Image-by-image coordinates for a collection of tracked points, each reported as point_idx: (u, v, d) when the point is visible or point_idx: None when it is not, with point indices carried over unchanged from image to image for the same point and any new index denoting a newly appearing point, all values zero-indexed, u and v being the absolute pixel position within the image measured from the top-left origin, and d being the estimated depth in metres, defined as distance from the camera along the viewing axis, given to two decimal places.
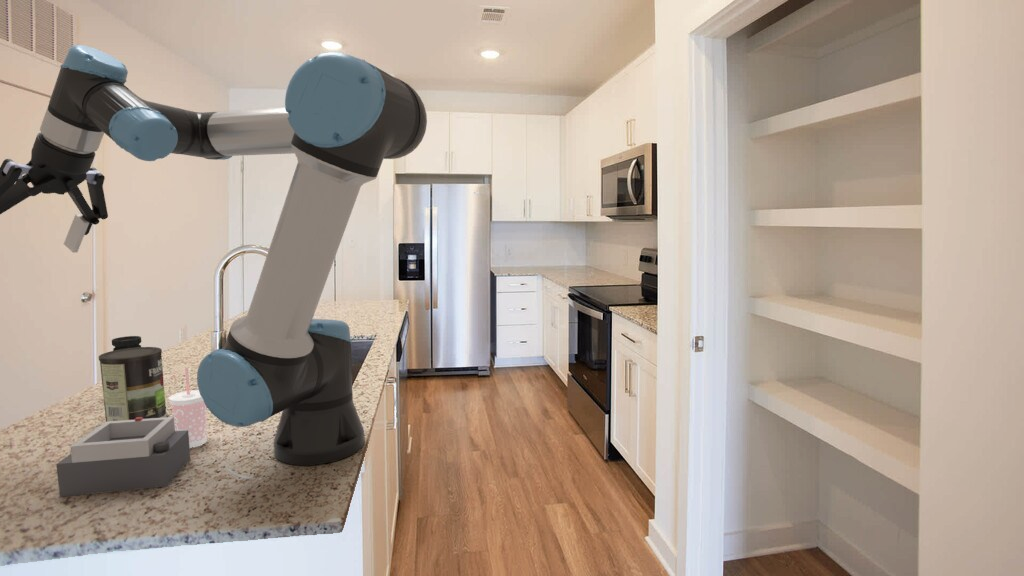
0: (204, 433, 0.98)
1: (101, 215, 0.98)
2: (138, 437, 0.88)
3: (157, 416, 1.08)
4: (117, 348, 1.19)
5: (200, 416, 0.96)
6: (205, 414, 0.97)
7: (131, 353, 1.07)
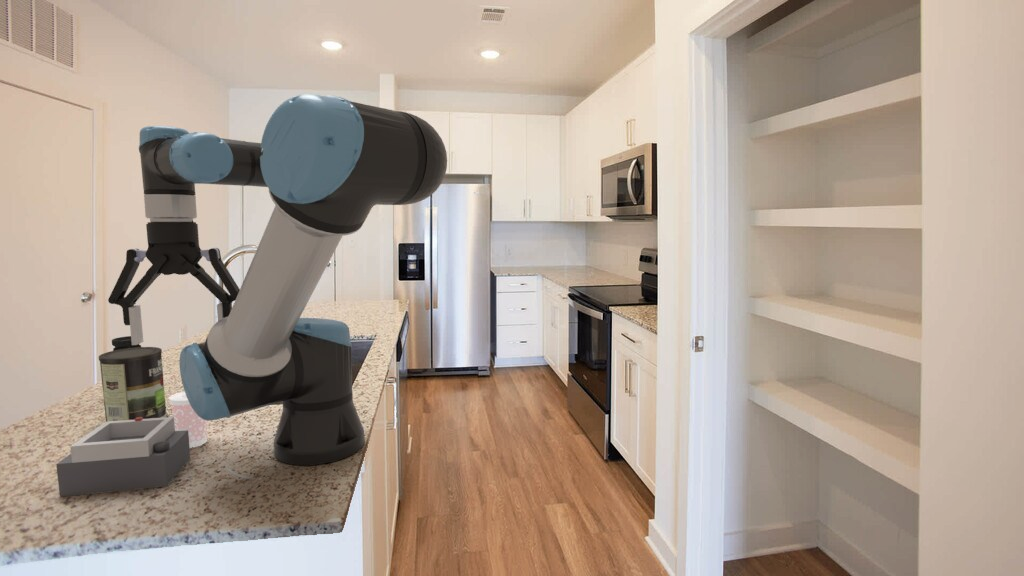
0: (204, 433, 0.98)
1: (231, 295, 0.95)
2: (138, 437, 0.88)
3: (157, 416, 1.08)
4: (117, 348, 1.19)
5: None
6: None
7: (131, 353, 1.07)
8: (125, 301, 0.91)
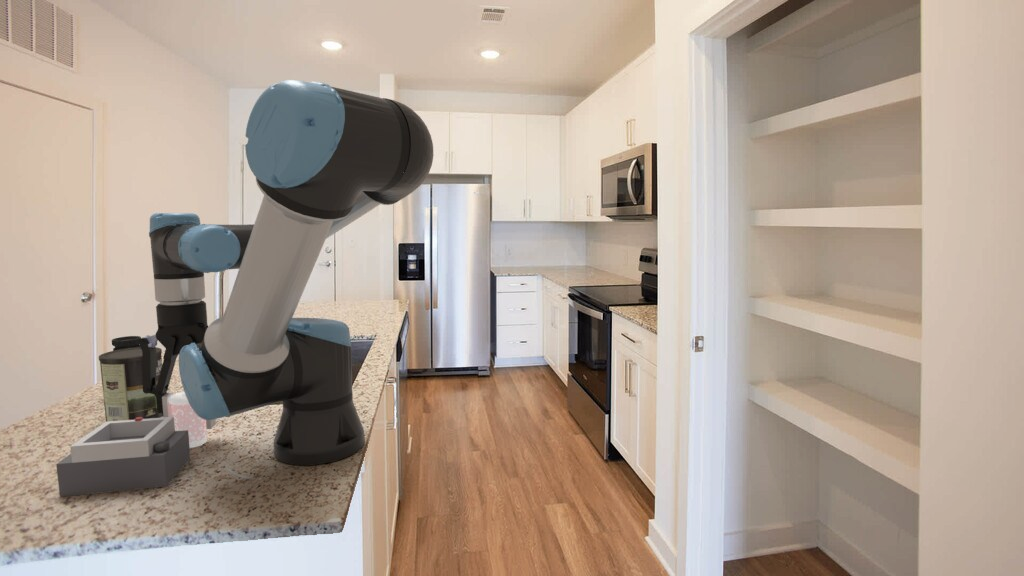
0: (204, 433, 0.98)
1: None
2: (138, 437, 0.88)
3: (157, 416, 1.08)
4: (117, 348, 1.19)
5: None
6: None
7: (131, 353, 1.07)
8: (158, 390, 0.94)
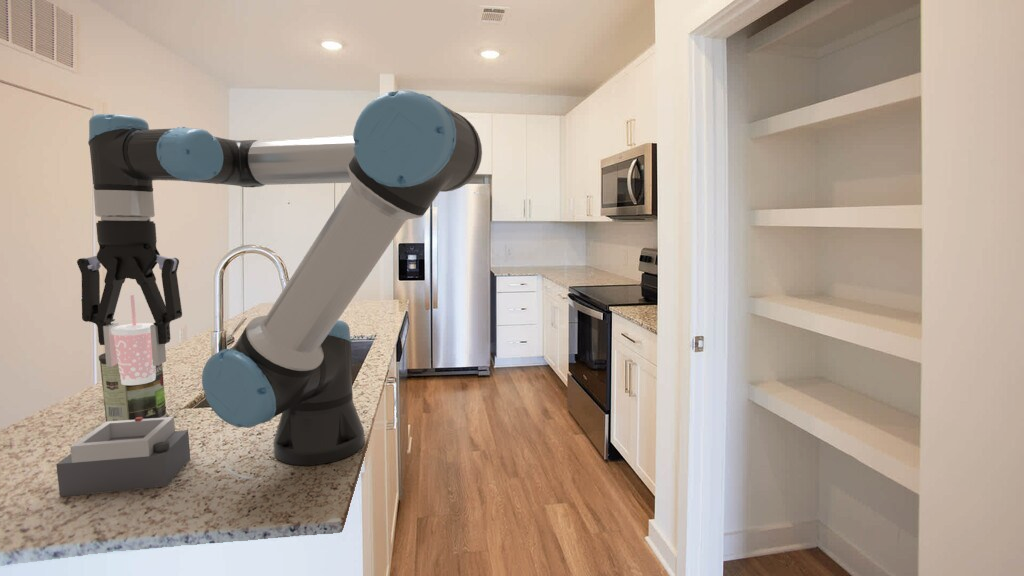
0: (152, 370, 0.87)
1: (167, 314, 0.85)
2: (138, 437, 0.88)
3: (157, 416, 1.08)
4: None
5: (145, 350, 0.85)
6: None
7: None
8: (98, 319, 0.84)
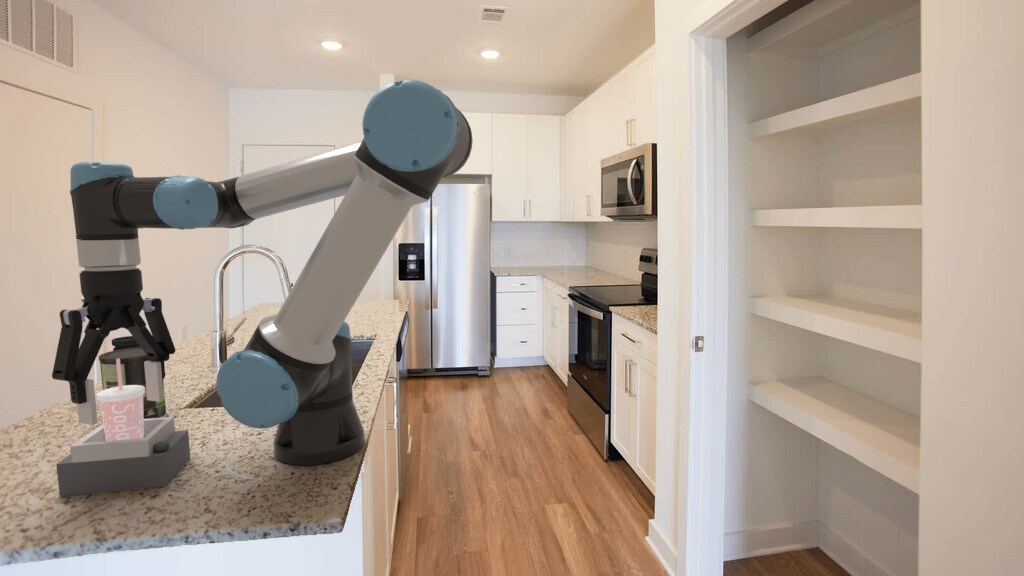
0: None
1: (168, 349, 0.89)
2: None
3: (157, 416, 1.08)
4: (117, 348, 1.19)
5: None
6: None
7: (131, 353, 1.07)
8: (82, 374, 0.77)
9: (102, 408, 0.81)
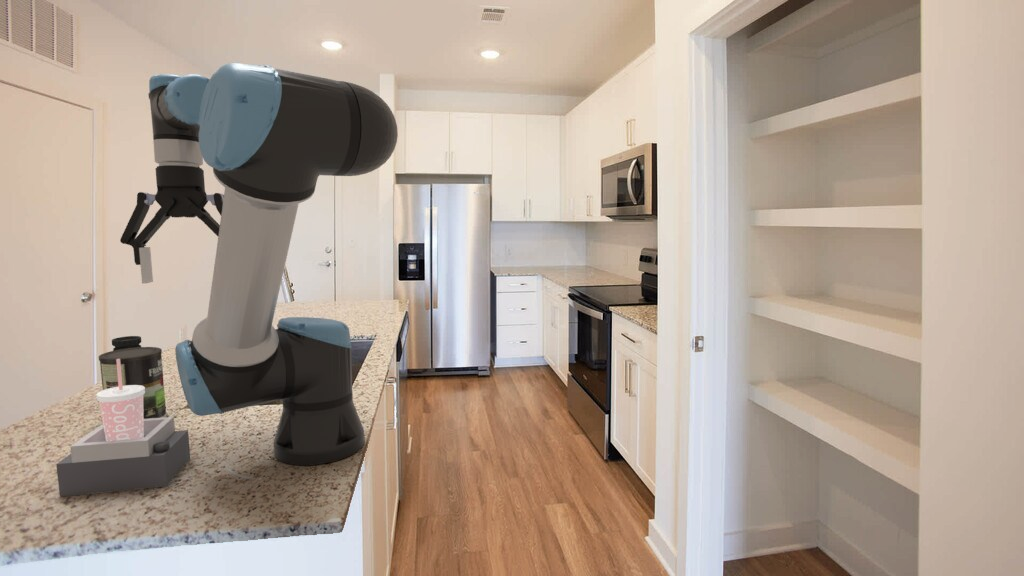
0: None
1: None
2: None
3: (157, 416, 1.08)
4: (117, 348, 1.19)
5: None
6: None
7: (131, 353, 1.07)
8: (136, 241, 0.97)
9: (102, 408, 0.81)
